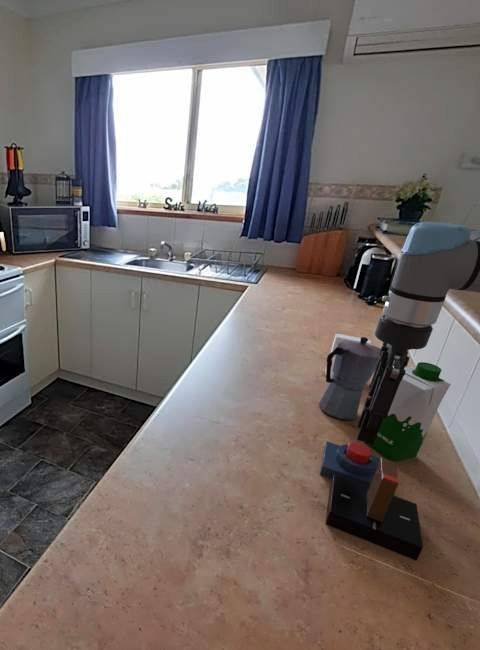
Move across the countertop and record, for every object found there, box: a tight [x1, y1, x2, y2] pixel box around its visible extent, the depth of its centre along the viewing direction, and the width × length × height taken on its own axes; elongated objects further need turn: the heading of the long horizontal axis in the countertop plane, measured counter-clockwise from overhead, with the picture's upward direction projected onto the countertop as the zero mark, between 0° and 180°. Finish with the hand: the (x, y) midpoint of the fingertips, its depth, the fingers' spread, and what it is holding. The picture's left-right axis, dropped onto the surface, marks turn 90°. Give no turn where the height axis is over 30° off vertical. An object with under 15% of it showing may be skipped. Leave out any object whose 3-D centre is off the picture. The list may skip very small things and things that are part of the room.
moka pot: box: [318, 336, 381, 421], centre depth 95 cm, size 10×15×20 cm, turn 112°
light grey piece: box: [324, 333, 372, 379], centre depth 114 cm, size 9×9×12 cm
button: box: [346, 442, 372, 464], centre depth 77 cm, size 4×4×2 cm
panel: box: [325, 475, 424, 561], centre depth 67 cm, size 13×10×3 cm
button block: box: [319, 440, 381, 487], centre depth 78 cm, size 11×9×4 cm
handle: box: [367, 457, 399, 522], centre depth 65 cm, size 6×2×8 cm, turn 151°
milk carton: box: [363, 361, 452, 463], centre depth 82 cm, size 9×9×20 cm
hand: (365, 434), depth 75 cm, fingers open, 4 cm apart
